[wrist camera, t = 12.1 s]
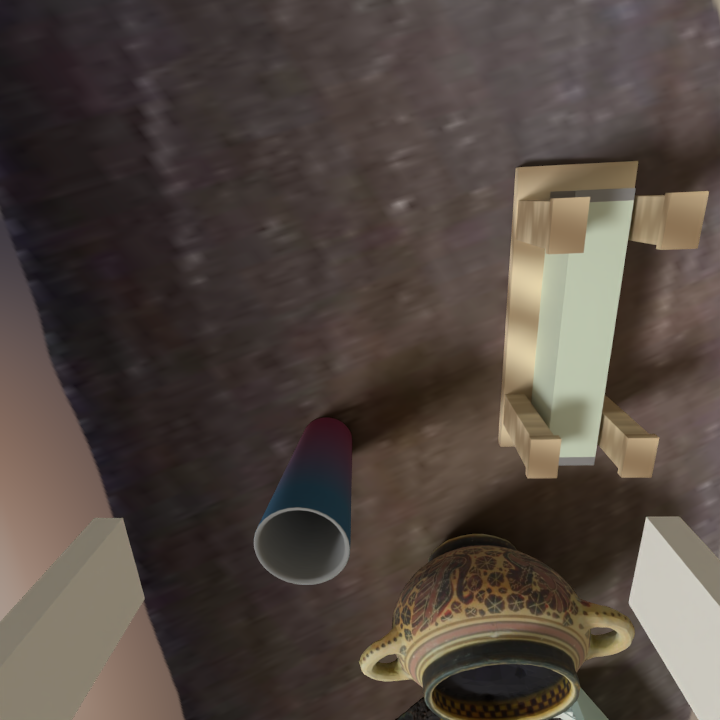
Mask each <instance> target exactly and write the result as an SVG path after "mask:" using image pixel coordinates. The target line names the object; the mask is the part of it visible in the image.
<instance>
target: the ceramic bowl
mask: <svg viewBox="0 0 720 720" xmlns="http://www.w3.org/2000/svg"><path fill="white" fill-rule="evenodd" d="M594 627H609V628H611V629H613V630H614V631H612V632H609V633H606V634H601V635H592V634H591V629H592V628H594ZM634 635H635V631H634V626H633V624H632V623H631V621H630V619H629V618H628V617H627V616H625V615H623V614H621V613H620V612H618V611H616V610H614V609H612V608H610V607H607V606H601V605H597V604H594V603H590V602H587V601H584V600H582V599H580V598H579V597H578V596H577V595H576V593H575V592H574V590H573V589H572V588H571V586H570V585H569V584H568V583H567V582H566V581H565V580H564V579H563V578H562V577H561V576H560V575H559V574H558V573H557V572H556V571H555V570H553V569H552V568H550V567H549V566H547V565H546V564H544V563H543V562H541V561H539V560H537V559H536V558H533V557H531V556H529V555H527V554H524V553H522V552H519V551H517V550H516V548H515V547H514V546H513V545H512V544H511V543H510V542H509V541H507V540H505V539H502V538H499V537H496V536H491V535H486V534H468V535H463V536H459V537H456V538H453V539H449V540H447V541H446V542H444V543H443V544H441V545H440V546H439V547H438V548H437V549H435V550H434V551H433V553H432V555H431V556H430V557H429V560H428V563H427V564H426V565H425V566H423V567H422V568H421V569H419V570H418V571H417V572H416V573H415V574H414V575H413V576H412V578H411V579H410V581H409V582H408V583H407V584H406V586H405V587H404V589H403V591H402V592H401V594H400V596H399V598H398V601H397V603H396V607H395V610H394V615H393V620H392V630H391V631H390V632H389V633H388V634H387V635H386V636H384V637H383V638H382V639H380V640H378V641H376V642H374V643H373V644H371V645H370V646H369V647H368V648H367V649H366V650H365V652H364V653H363V654H362V656H361V658H360V662H359V663H360V667H361V670H362V672H363V673H364V674H365V675H367V676H368V677H370V678H372V679H375V680H380V681H398V680H410V679H413V680H414V681H416V682H417V683H418V684H419V685H420V686H422V687H423V694H424V700H425V702H426V704H427V706H428V707H429V708H430V710H431V711H432V712H433V713H434V714H436V715H437V716H438V717H440V718H441V719H443V720H549V719H552V718H554V717H556V716H558V715H560V714H562V713H564V712H566V711H567V710H568V709H569V708H570V707H572V706H573V704H574V703H575V702H576V701H577V699H578V697H579V693H580V682H579V677H578V675H577V671H578V670H579V668H580V667H581V665H582V664H583V662H584V661H586V660H588V659H590V658H593V657H599V656H606V655H612V654H615V653H618V652H620V651H623V650H625V649H626V648H627V647H629V645H630V644H631V642H632V640H633V638H634ZM390 654H396V656H397V657H398V658H397V659H396V660H395V661H393V662H391V663H380V662H378V661H379V660H380V659H381V658H383V657H385V656H387V655H390Z"/></svg>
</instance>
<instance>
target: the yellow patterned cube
mask: <svg viewBox="0 0 720 720" xmlns="http://www.w3.org/2000/svg"><path fill="white" fill-rule="evenodd" d="M397 720H443V719H441V718H440V717H438V716H437V715H436V714H434V713H433V712H432V711H431V710H430V708H429V707H428V706H427V704H426V702H425V700H424V698H422V699H421V700H419V701H418V702H417V703H416V704H415V705H414V706H413V707H411V708H410V709H409V710H408V711H407V712H406V713H405V714H403V715H401V716H400V717H399V718H398V719H397Z"/></svg>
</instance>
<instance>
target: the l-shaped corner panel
mask: <svg viewBox="0 0 720 720" xmlns="http://www.w3.org/2000/svg"><path fill="white" fill-rule="evenodd" d="M554 718H561V719H563V720H609V719H608V718H607V717H606V716H605V715H604V714H603V712H602V711H601V710H600V709H599V708H598V707H597V706H596V705H595V703H594V702H593V701H592V700H591V699H590V698H589V697H588V695H587V694H586V693H585V692H584V691H583V690H582V689H581V687H580V693H579V697H578V699H577V701H576V702H575V703H574V704H573V706H572V707H570V708H569V709H568V710H567V711H566V712H564V713H562V714H560V715H558V716H556V717H554Z"/></svg>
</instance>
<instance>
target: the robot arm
mask: <svg viewBox="0 0 720 720" xmlns="http://www.w3.org/2000/svg"><path fill="white" fill-rule="evenodd" d="M144 599H145V598H144V594H143V591H142V587H141V583H140V580H139V576H138V572H137V569H136V565H135V561H134V558H133V554H132V550H131V547H130V543H129V539H128V536H127V532H126V528H125V525H124V521H123V518H94V519H93V520H92V521H91V523H90V524H89V525H88V526H87V527H86V528H85V529H84V530H83V532H81V534H80V535H79V536H78V537H77V538H76V539H75V540H74V541H73V543H72V544H71V545H70V546H69V547H68V548H67V549H66V550H65V551H64V552H63V553H62V555H61V556H60V557H59V558H58V559H57V560H56V561H55V562H54V563H53V564H52V566H51V567H50V568H49V569H48V570H47V571H46V572H45V573H44V574H43V575H42V577H41V578H40V579H39V580H38V581H37V582H36V583H35V584H34V585H33V586H32V588H31V589H30V590H29V591H28V592H27V593H26V594H25V595H24V596H23V597H22V599H21V600H20V601H19V602H18V603H17V604H16V605H15V606H14V607H13V608H12V610H11V611H10V612H9V613H8V614H7V615H6V616H5V617H4V618H3V620H2V621H1V622H0V720H72V719H73V717H74V715H75V714H76V712H77V711H78V709H79V707H80V705H81V704H82V702H83V700H84V699H85V697H86V696H87V694H88V692H89V691H90V689H91V687H92V685H93V684H94V682H95V681H96V679H97V677H98V676H99V674H100V672H101V670H102V669H103V667H104V666H105V664H106V662H107V661H108V659H109V657H110V655H111V654H112V652H113V651H114V649H115V647H116V646H117V644H118V642H119V641H120V639H121V637H122V636H123V634H124V632H125V631H126V629H127V627H128V626H129V624H130V622H131V621H132V619H133V617H134V616H135V614H136V612H137V610H138V609H139V607H140V606H141V604H142V602H143V601H144ZM629 605H630V606H631V608H632V610H633V611H634V613H635V615H636V616H637V618H638V620H639V621H640V623H641V625H642V626H643V628H644V630H645V631H646V633H647V635H648V636H649V638H650V640H651V641H652V643H653V645H654V646H655V648H656V650H657V651H658V653H659V655H660V656H661V658H662V660H663V661H664V663H665V665H666V666H667V668H668V670H669V671H670V673H671V675H672V676H673V678H674V680H675V681H676V683H677V685H678V686H679V688H680V690H681V691H682V693H683V695H684V696H685V698H686V700H687V701H688V703H689V705H690V706H691V708H692V710H693V711H694V713H695V715H696V716H697V718H698V720H720V560H719V559H718V558H717V557H716V556H715V555H714V553H713V552H712V551H711V550H710V549H709V548H708V547H707V546H706V545H705V544H704V543H703V542H702V540H701V539H700V538H699V537H698V536H697V535H696V534H695V533H694V532H693V531H692V530H691V529H690V527H689V526H688V525H687V524H686V523H685V522H684V521H683V520H682V519H681V518H680V517H646V520H645V525H644V530H643V535H642V540H641V545H640V550H639V554H638V559H637V564H636V569H635V574H634V579H633V584H632V589H631V594H630V599H629Z"/></svg>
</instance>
